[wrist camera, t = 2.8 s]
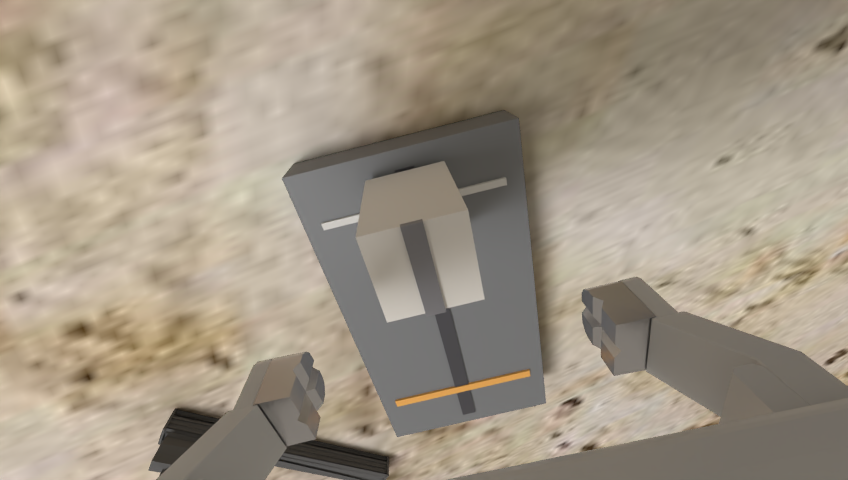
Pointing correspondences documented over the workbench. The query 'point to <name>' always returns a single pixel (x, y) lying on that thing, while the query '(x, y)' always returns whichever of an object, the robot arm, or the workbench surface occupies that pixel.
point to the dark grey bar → (354, 467)
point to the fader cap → (418, 243)
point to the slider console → (459, 326)
